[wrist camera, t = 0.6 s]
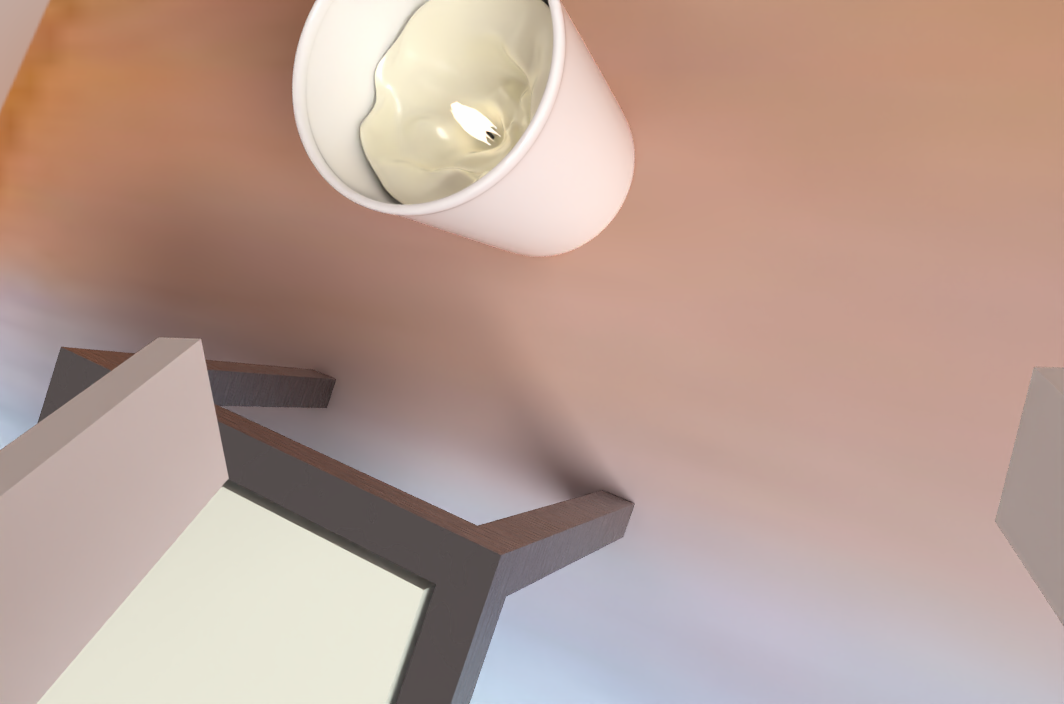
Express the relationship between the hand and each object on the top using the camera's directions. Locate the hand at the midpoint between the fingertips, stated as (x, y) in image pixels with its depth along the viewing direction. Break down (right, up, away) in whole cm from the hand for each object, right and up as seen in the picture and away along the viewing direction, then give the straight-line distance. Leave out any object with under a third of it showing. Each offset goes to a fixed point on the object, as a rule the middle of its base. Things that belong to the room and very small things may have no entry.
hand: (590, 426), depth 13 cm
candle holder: (0, +10, +24) cm, 26 cm away
